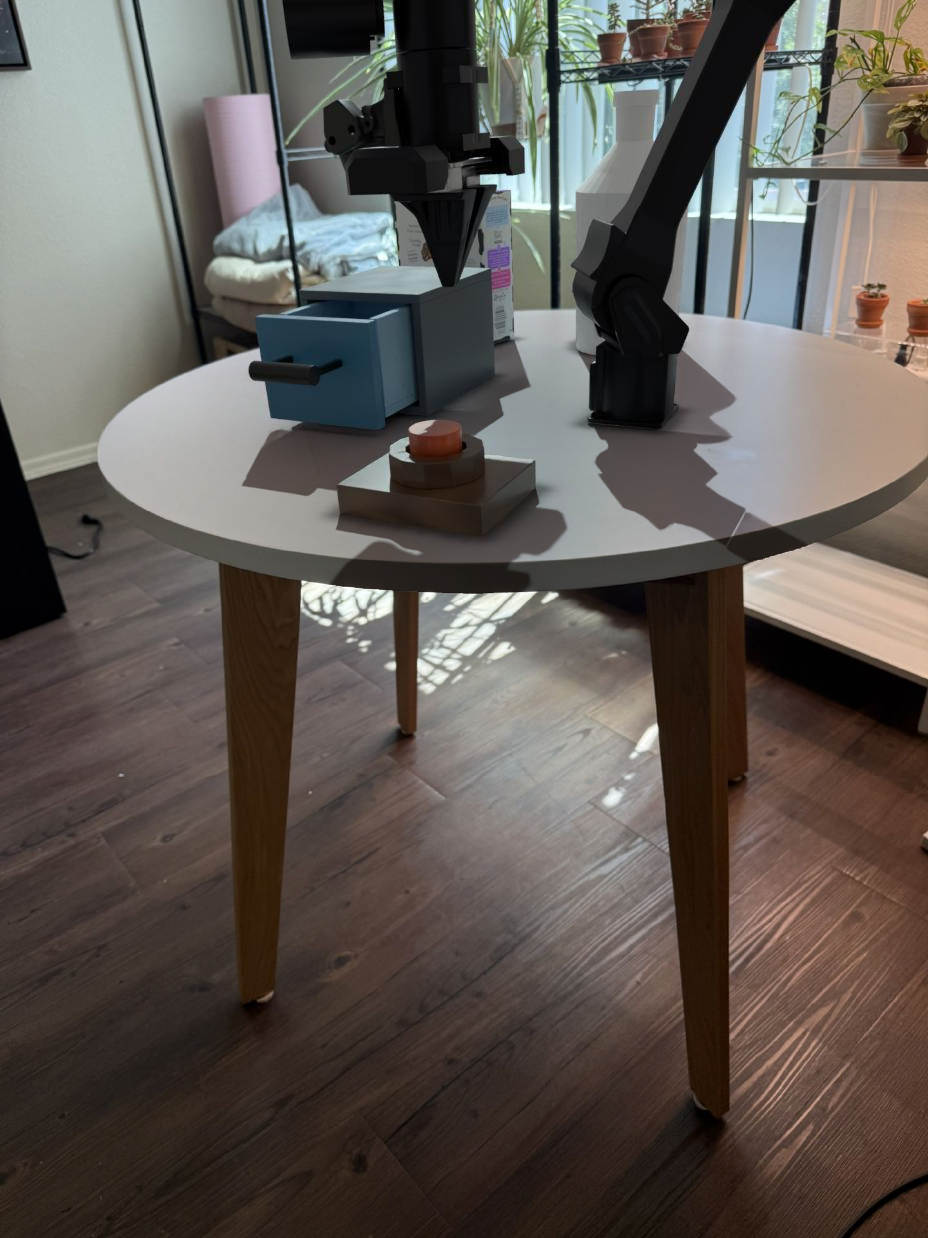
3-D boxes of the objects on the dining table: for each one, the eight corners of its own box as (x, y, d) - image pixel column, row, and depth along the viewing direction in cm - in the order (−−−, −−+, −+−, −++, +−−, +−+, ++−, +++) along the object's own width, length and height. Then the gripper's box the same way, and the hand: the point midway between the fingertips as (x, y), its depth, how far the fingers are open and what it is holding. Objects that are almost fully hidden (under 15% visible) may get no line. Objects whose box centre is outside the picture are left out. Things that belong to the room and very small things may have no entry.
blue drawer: (345, 448, 70) (332, 336, 66) (234, 435, 75) (214, 328, 70) (451, 388, 84) (446, 292, 80) (352, 380, 89) (342, 288, 85)
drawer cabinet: (427, 416, 80) (418, 294, 75) (314, 404, 85) (298, 289, 80) (495, 376, 91) (491, 267, 86) (391, 368, 96) (381, 265, 91)
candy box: (516, 339, 106) (513, 187, 98) (485, 348, 102) (479, 192, 94) (434, 327, 114) (425, 187, 106) (402, 336, 110) (390, 191, 102)
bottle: (569, 336, 106) (572, 95, 93) (669, 332, 105) (685, 88, 93) (577, 359, 95) (581, 92, 83) (687, 355, 95) (708, 85, 82)
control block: (536, 488, 63) (535, 434, 61) (482, 537, 56) (479, 478, 54) (404, 471, 68) (399, 420, 66) (339, 514, 61) (332, 459, 59)
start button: (471, 446, 61) (470, 422, 60) (447, 463, 58) (445, 438, 57) (426, 441, 62) (424, 417, 61) (400, 457, 59) (398, 432, 59)
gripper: (399, 64, 72) (414, 266, 80) (263, 57, 58) (298, 305, 65) (525, 53, 68) (529, 268, 75) (413, 42, 53) (431, 310, 61)
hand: (449, 286), depth 69 cm, fingers closed
